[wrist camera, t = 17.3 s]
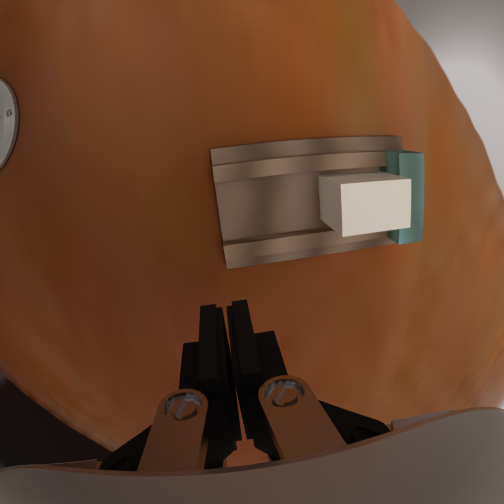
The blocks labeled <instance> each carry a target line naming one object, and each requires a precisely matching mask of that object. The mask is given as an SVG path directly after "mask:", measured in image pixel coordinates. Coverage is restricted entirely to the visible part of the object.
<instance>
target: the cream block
mask: <svg viewBox="0 0 504 504" xmlns="http://www.w3.org/2000/svg"><path fill="white" fill-rule="evenodd" d="M318 183H319V199H320V217H321V220H322V221H323V222H325V223H326V224H327V225H328V226H330V227H331V228H332V229H333V230H334V231H336V232H337V233H338V234H339V235H341V236H342V237H346V236H353V235H360V234H367V233H374V232H381V231H388V230H395V229H402V228H410V224H411V179H410V178H406V177H402V176H398V175H395V174H391V173H387V172H383V171H368V172H353V173H340V174H328V175H318Z"/></svg>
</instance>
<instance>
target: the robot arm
mask: <svg viewBox="0 0 504 504" xmlns="http://www.w3.org/2000/svg"><path fill="white" fill-rule="evenodd" d="M18 121H19V114H18V105H17V99H16V97H15V94H14V91H13V90H12V88H11V87H10V85H9V84H8V83H7V82H6V81H4V80H2V79H0V169H1V168H2V167H3V166H4V164H5V163H6V161H7V160H8V158H9V156H10V154H11V152H12V149H13V146H14V143H15V140H16V136H17V131H18ZM226 307H227V317H228V328H229V338H230V347H231V353H230V348H229V343H228V337H227V332H226V327H225V321H224V316H223V310H222V307H218V308H216V304H212V305H204V306H200V325H199V341H198V342H190V343H184V344H183V351H182V361H181V371H180V382H179V390H176V391H173V392H171V393H169V394H168V395H166V396H165V397H164V398H163V399H162V400H161V402H160V404H159V406H158V409H157V412H156V415H155V418H154V421H153V424H152V425H151V426H149V427H148V428H147V429H145V430H144V431H143V432H141V433H140V434H138V435H137V436H136V437H134V438H133V439H131V440H130V441H128V442H127V443H126V444H124V445H123V446H121V447H120V448H118V449H117V450H115V451H114V452H112V453H111V454H110V455H108V456H107V457H106V458H105V459H104V460H103V461H102V462H98V461H97V460H96V459H95V460H88V461H80V462H69V463H59V464H47V465H21V466H14V467H8V468H4V469H1V470H0V504H504V409H501V408H497V407H476V408H466V409H462V410H457V411H454V410H445V411H440V412H436V413H430V414H425V415H420V416H414V417H408V418H402V419H395V420H392V421H391V423H390V424H384V423H382V422H380V421H378V420H376V419H373V418H369V417H366V416H363V415H360V414H357V413H354V412H351V411H348V410H345V409H342V408H339V407H337V406H334V405H331V404H328V403H325V402H323V401H320V400H318V399H317V398H316V396H315V395H314V393H313V391H312V390H311V388H310V387H309V385H308V384H307V383H306V382H305V381H304V380H302V379H301V378H299V377H295V376H291V375H288V374H287V371H286V368H285V364H284V361H283V358H282V355H281V352H280V349H279V346H278V342H277V339H276V336H275V333H274V331H268V332H262V333H255V334H254V331H253V327H252V322H251V318H250V313H249V308H248V304H247V300H239V301H233V302H232V306H226ZM231 357H232V359H231ZM235 386H236V387H235ZM236 391H237V395H238V400H239V405H240V410H241V414H242V419H243V424H244V428H245V433H246V437H247V440H248V439H253V441H254V446H255V448H257V449H259V450H261V451H263V452H265V453H267V455H268V460H269V462H265V463H259V464H252V465H244V466H236V467H227V460H226V457H228V456H229V455H230V454H231V453H232V452H233V451H234V450H237V447H236V441H241V440H242V436H241V428H240V420H239V412H238V404H237V395H236Z"/></svg>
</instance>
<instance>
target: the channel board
mask: <svg viewBox="0 0 504 504" xmlns="http://www.w3.org/2000/svg"><path fill="white" fill-rule="evenodd" d="M210 151H211V158H212V168H213V175H214V183H215V189H216V196H217V203H218V210H219V217H220V224H221V231H222V238H223V247H224V253H225V260H226V265H227V269H231V268H238V267H245V266H252V265H259V264H265V263H272V262H279V261H285V260H292V259H299V258H305V257H312V256H318V255H325V254H331V253H338V252H344V251H351V250H357V249H363V248H370V247H376V246H382V245H388V244H394V243H397V244H405V243H411V242H417V241H422V235H423V215H424V153H420V152H413V151H406V150H402V136H357V137H331V138H314V139H299V140H286V141H275V142H265V143H255V144H246V145H238V146H230V147H222V148H215V149H210ZM368 171H383V172H387V173H391V174H395V175H398V176H402V177H406V178H410V179H411V224H410V228H402V229H395V230H388V231H381V232H374V233H367V234H360V235H353V236H346V237H342V236H341V235H339V234H338V233H337V232H336V231H334V230H333V229H332V228H331V227H330V226H328V225H327V224H326V223H325V222H323V221H322V220H321V217H320V199H319V183H318V175H328V174H340V173H353V172H368Z"/></svg>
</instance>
